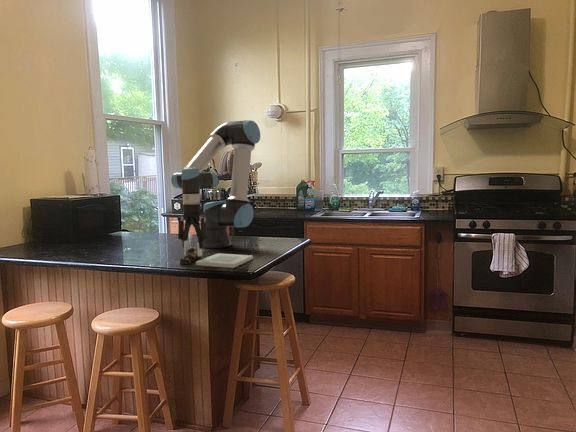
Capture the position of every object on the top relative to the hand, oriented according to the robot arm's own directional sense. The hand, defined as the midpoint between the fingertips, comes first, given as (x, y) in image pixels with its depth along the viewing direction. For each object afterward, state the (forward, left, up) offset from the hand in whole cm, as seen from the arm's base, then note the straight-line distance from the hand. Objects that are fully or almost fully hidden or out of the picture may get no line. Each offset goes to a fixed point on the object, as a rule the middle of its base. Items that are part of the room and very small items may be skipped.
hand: (193, 255), depth 201 cm
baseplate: (-2, +15, -2) cm, 15 cm away
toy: (+1, 0, -3) cm, 3 cm away
